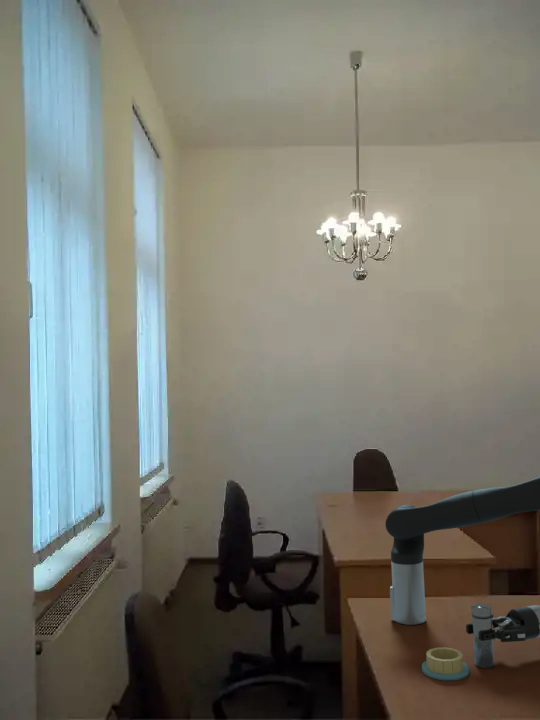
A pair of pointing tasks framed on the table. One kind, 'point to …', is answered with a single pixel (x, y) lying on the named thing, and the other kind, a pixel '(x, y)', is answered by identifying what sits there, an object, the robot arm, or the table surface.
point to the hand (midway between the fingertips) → (473, 632)
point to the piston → (480, 623)
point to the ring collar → (445, 664)
